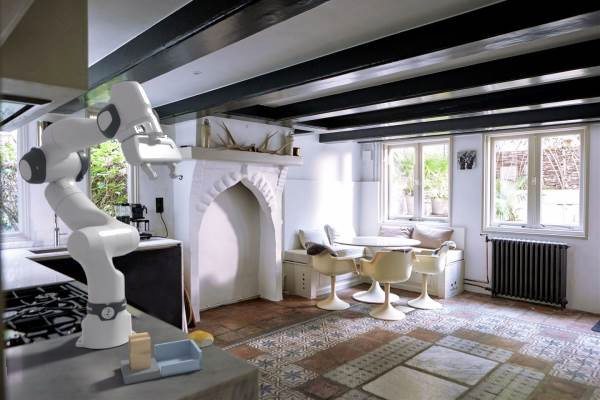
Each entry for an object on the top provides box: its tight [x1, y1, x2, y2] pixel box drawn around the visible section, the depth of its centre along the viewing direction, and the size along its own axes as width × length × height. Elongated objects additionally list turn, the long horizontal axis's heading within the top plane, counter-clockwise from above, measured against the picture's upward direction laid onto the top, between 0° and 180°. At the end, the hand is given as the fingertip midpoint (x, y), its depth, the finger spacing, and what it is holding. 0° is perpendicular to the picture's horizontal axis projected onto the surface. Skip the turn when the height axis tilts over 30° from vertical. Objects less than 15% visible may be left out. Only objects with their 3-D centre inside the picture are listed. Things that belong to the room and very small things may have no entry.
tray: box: [153, 338, 203, 378], centre depth 124 cm, size 12×11×5 cm
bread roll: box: [185, 330, 215, 349], centre depth 142 cm, size 8×9×4 cm
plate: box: [120, 354, 162, 385], centre depth 119 cm, size 12×9×2 cm
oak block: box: [128, 331, 152, 371], centre depth 119 cm, size 6×5×8 cm
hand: (165, 178), depth 120 cm, fingers open, 8 cm apart
